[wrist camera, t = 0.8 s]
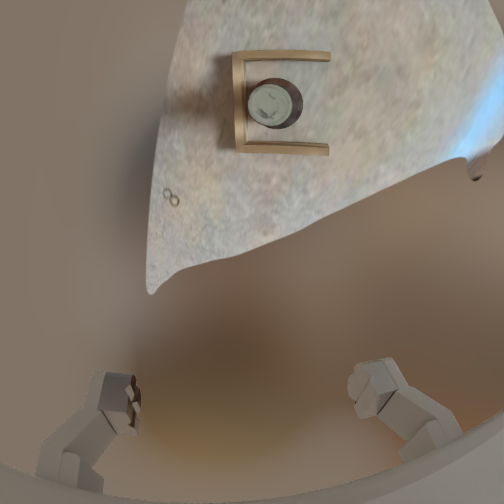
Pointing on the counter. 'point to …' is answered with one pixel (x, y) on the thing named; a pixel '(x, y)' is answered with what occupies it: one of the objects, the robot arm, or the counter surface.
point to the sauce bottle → (275, 103)
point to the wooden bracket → (241, 103)
